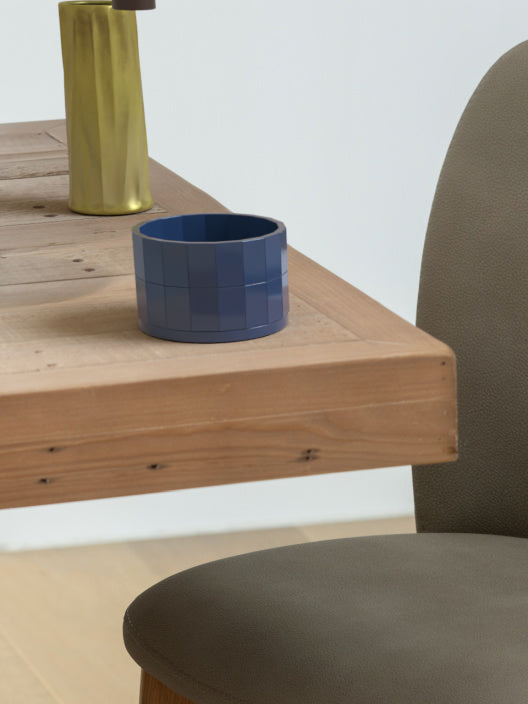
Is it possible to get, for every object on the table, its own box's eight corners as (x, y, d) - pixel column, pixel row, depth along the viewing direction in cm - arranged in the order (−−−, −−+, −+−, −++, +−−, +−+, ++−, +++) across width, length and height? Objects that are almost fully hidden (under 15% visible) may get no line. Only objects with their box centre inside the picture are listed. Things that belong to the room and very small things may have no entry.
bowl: (252, 348, 80) (247, 248, 78) (110, 334, 82) (102, 236, 80) (312, 311, 87) (309, 218, 85) (180, 299, 89) (174, 208, 87)
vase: (66, 217, 110) (48, 5, 105) (70, 200, 115) (53, -1, 110) (154, 214, 111) (141, 5, 106) (154, 199, 117) (141, -1, 111)
